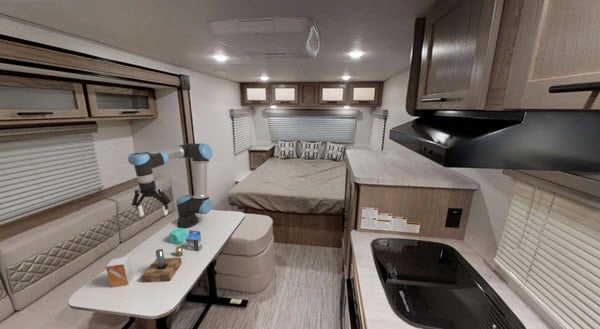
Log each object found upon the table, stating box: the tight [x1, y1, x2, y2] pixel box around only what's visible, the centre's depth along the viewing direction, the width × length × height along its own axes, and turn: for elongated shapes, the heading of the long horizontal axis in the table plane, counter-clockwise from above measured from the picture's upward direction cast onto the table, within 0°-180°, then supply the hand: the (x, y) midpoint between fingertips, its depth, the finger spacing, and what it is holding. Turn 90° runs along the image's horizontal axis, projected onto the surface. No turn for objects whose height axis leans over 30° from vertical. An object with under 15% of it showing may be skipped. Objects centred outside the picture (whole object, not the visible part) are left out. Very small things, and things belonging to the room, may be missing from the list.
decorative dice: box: [168, 227, 188, 245], centre depth 154 cm, size 8×8×8 cm
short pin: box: [175, 246, 184, 258], centre depth 139 cm, size 3×3×5 cm
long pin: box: [155, 248, 166, 269], centre depth 124 cm, size 3×3×14 cm
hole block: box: [141, 257, 183, 283], centre depth 125 cm, size 14×14×4 cm
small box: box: [105, 256, 135, 288], centre depth 117 cm, size 8×6×13 cm
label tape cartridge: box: [185, 229, 203, 252], centre depth 145 cm, size 9×4×12 cm, turn 79°
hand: (154, 215), depth 130 cm, fingers open, 13 cm apart
